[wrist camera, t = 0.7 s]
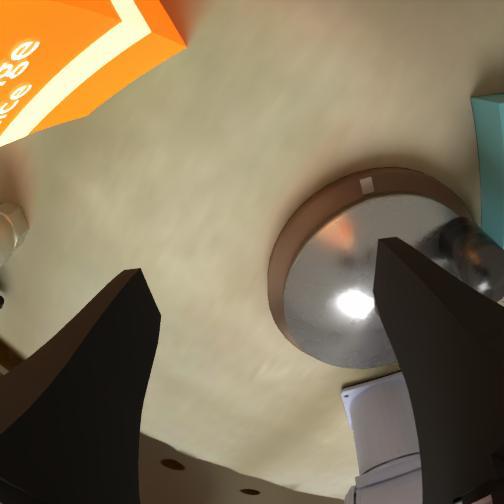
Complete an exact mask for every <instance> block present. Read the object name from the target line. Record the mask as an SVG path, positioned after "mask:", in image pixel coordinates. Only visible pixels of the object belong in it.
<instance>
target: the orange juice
mask: <svg viewBox="0 0 504 504" xmlns="http://www.w3.org/2000/svg"><path fill="white" fill-rule="evenodd" d="M185 48H187V47H186V45H185V43H184V42H183V40H182V38H181V36H180V35H179V33H178V31H177V30H176V28H175V26H174V25H173V23H172V21H171V19H170V18H169V16H168V14H167V13H166V11H165V10H164V8H163V6H162V5H161V3H160V1H159V0H0V146H3V145H5V144H8V143H10V142H13V141H15V140H18V139H20V138H23V137H26V136H27V135H28V134H31V133H33V132H36V131H39V130H42V129H45V128H48V127H51V126H54V125H57V124H60V123H64V122H67V121H70V120H74V119H77V118H81V117H84V116H87V115H88V114H89V113H90V112H92V111H93V110H94V109H95V108H97V107H98V106H99V105H100V104H102V103H103V102H104V101H106V100H107V99H108V98H110V97H111V96H112V95H114V94H115V93H116V92H118V91H119V90H121V89H122V88H123V87H125V86H126V85H128V84H129V83H131V82H132V81H133V80H135V79H136V78H138V77H139V76H141V75H142V74H144V73H145V72H147V71H148V70H150V69H152V68H153V67H155V66H156V65H158V64H160V63H161V62H163V61H164V60H166V59H168V58H169V57H171V56H173V55H174V54H176V53H178V52H180V51H181V50H183V49H185Z"/></svg>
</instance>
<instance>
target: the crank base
mask: <svg viewBox="0 0 504 504" xmlns="http://www.w3.org/2000/svg"><path fill="white" fill-rule="evenodd" d="M390 191H409V192H416V193H420V194H425V195H427V196H430V197H432V198H435V199H437V200H438V201H440V202H442V203H443V204H445V205H446V206H447V207H449V208H450V209H451V210H452V211H453V212H455V213H456V214H457V215H458V216H459V217H467V218H469V219H471V220H472V221H473V222H474V220H473V218H472V216H471V214H470V212H469V210H468V208H467V207H466V206H465V204H464V203H463V201H462V200H461V199H460V198H459V197H458V196H457V195H456V194H455V193H454V192H453V191H452V190H450V189H449V188H448V187H446V186H445V185H443V184H442V183H440V182H439V181H437V180H436V179H434V178H433V177H430V176H428V175H426V174H424V173H421V172H418V171H414V170H410V169H406V168H396V167H384V168H373V169H368V170H363V171H359V172H356V173H353V174H350V175H348V176H345V177H342V178H340V179H338V180H336V181H335V182H333V183H331V184H329V185H327V186H326V187H324V188H323V189H321V190H320V191H318V192H317V193H315V194H314V195H313V196H312V197H310V198H309V199H308V200H307V201H306V202H305V203H304V204H303V205H301V206H300V207H299V209H298V210H297V211H296V212H295V213H294V214H293V216H292V217H291V218H290V219H289V221H288V222H287V224H286V225H285V227H284V228H283V230H282V231H281V233H280V235H279V237H278V239H277V241H276V243H275V245H274V248H273V251H272V254H271V257H270V262H269V268H268V301H269V307H270V310H271V313H272V316H273V319H274V321H275V323H276V325H277V327H278V329H279V330H280V331H281V333H282V334H283V335H284V336H285V338H286V339H287V340H288V341H289V342H291V343H292V344H293V345H294V346H295V347H297V348H298V349H300V350H301V351H302V352H304V353H306V354H308V353H307V352H305V351H304V350H303V349H302V348H301V347H300V346H299V345H298V344H297V342H296V341H295V340H294V338H293V337H292V335H291V333H290V331H289V329H288V326H287V323H286V320H285V313H284V303H283V290H284V282H285V278H286V273H287V271H288V268H289V265H290V262H291V261H292V259H293V257H294V255H295V253H296V251H297V249H298V248H299V247H300V245H301V244H302V242H303V241H304V240H305V238H306V237H307V236H308V235H309V234H310V233H311V232H312V231H313V229H314V228H315V227H316V226H317V225H319V224H320V223H321V222H322V221H323V220H324V219H326V218H327V217H328V216H329V215H331V214H332V213H334V212H335V211H337V210H338V209H340V208H341V207H343V206H345V205H347V204H349V203H351V202H353V201H355V200H358V199H361V198H364V197H366V196H369V195H373V194H378V193H382V192H390ZM308 355H309V354H308ZM310 356H311V355H310Z"/></svg>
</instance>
